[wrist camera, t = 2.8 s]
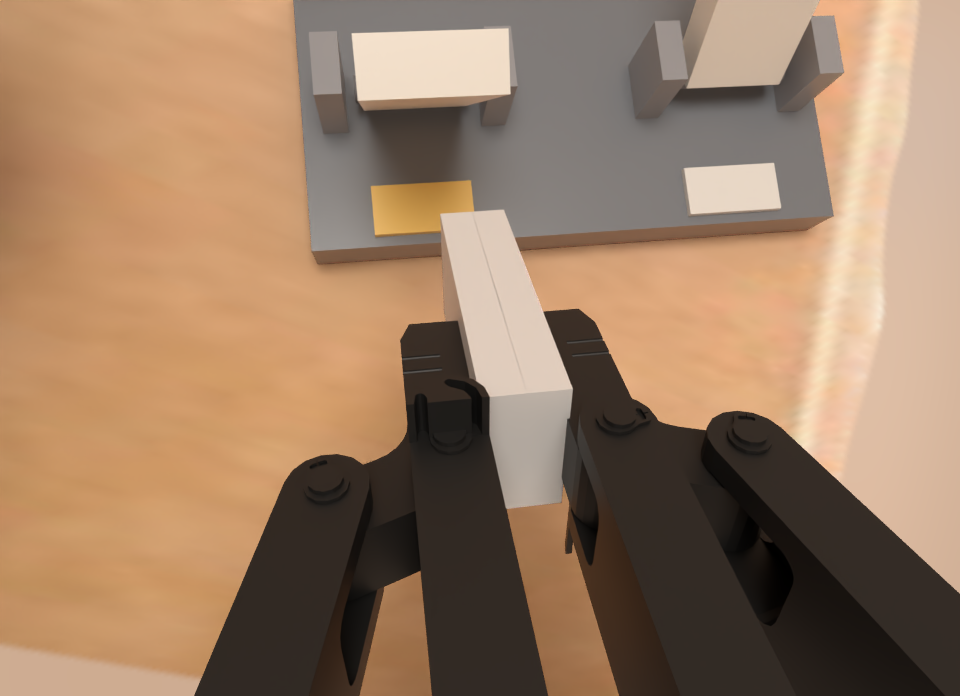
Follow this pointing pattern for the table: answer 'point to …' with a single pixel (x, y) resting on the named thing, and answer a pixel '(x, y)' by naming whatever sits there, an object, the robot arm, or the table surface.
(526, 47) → the switch unit
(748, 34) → the paddle
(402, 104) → the paddle
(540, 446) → the robot arm
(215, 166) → the table surface
